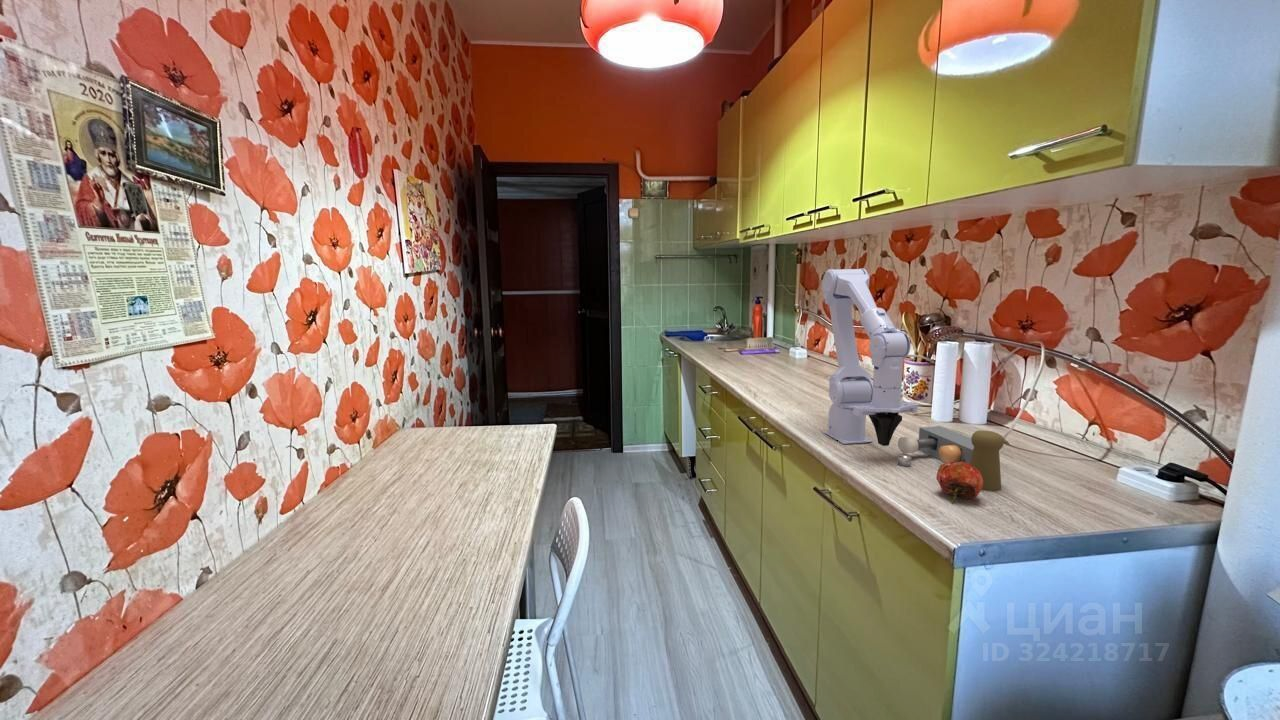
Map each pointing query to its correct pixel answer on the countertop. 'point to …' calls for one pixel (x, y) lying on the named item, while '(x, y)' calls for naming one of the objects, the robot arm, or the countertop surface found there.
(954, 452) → the orange knob
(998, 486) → the cork
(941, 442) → the mount
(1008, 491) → the countertop surface
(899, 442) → the cream knob
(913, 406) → the robot arm
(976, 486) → the pomegranate
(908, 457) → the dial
